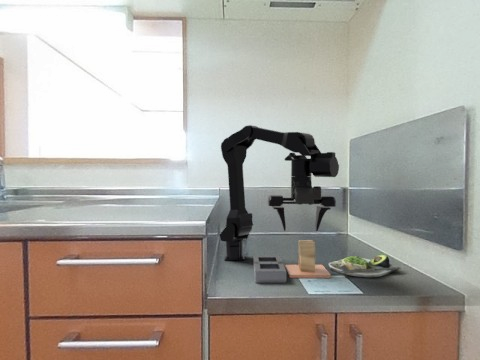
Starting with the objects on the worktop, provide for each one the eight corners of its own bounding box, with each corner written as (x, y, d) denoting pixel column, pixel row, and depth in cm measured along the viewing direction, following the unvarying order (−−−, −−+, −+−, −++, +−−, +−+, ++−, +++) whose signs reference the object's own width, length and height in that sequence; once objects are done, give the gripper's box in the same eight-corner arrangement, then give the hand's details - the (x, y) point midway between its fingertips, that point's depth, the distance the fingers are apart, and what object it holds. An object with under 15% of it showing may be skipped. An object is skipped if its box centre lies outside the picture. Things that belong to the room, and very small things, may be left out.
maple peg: (298, 267, 108) (298, 240, 108) (312, 267, 108) (312, 240, 108) (300, 271, 104) (300, 242, 104) (315, 271, 104) (315, 242, 104)
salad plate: (368, 285, 95) (368, 267, 94) (314, 271, 108) (314, 255, 108) (407, 272, 107) (407, 256, 106) (353, 261, 121) (353, 247, 120)
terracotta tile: (285, 267, 112) (285, 264, 112) (322, 267, 111) (322, 264, 111) (290, 277, 101) (290, 274, 101) (330, 277, 100) (330, 274, 100)
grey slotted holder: (253, 265, 114) (253, 255, 114) (279, 265, 114) (279, 255, 114) (255, 282, 96) (255, 271, 96) (286, 282, 96) (286, 271, 96)
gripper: (270, 177, 99) (270, 235, 99) (341, 177, 99) (340, 236, 99) (267, 176, 110) (267, 228, 110) (331, 176, 110) (330, 229, 110)
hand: (300, 230), depth 107 cm, fingers open, 9 cm apart
